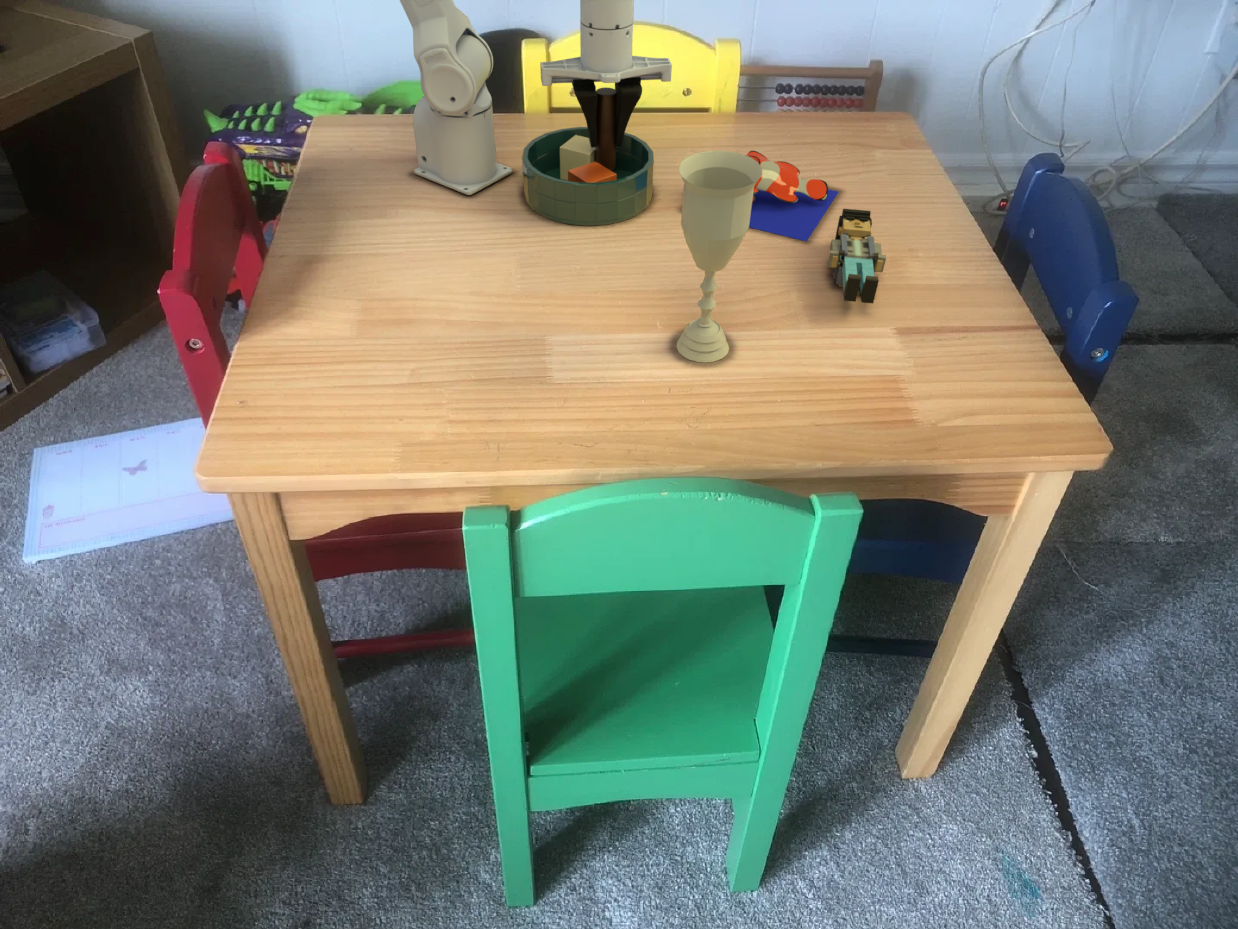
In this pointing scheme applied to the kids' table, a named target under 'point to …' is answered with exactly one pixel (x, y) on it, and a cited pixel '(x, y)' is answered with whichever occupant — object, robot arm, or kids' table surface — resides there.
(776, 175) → the fish
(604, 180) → the terracotta block
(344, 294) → the kids' table surface
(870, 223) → the toy
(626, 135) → the bowl
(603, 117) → the dark brown cylinder
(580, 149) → the cream block
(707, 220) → the chalice
